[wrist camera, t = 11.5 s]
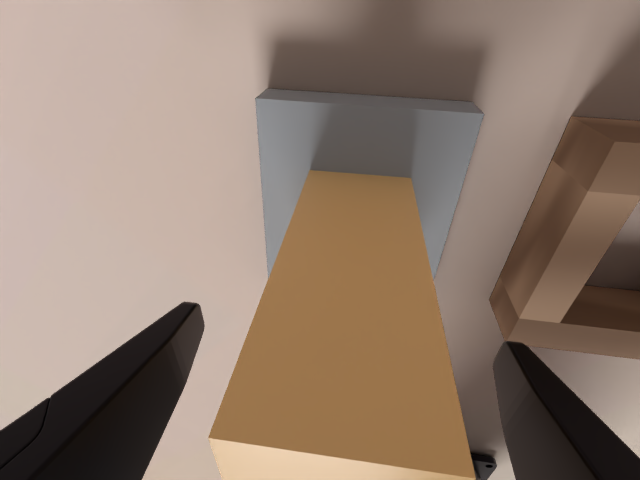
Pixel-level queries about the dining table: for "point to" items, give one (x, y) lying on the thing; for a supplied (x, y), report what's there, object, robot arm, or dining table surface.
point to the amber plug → (346, 349)
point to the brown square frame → (575, 247)
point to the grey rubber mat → (364, 152)
